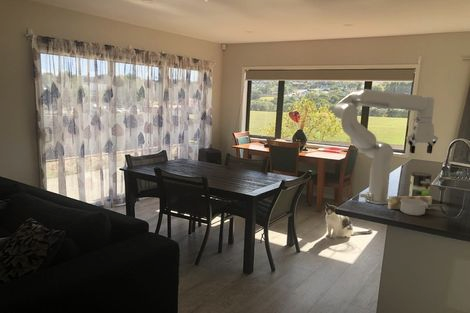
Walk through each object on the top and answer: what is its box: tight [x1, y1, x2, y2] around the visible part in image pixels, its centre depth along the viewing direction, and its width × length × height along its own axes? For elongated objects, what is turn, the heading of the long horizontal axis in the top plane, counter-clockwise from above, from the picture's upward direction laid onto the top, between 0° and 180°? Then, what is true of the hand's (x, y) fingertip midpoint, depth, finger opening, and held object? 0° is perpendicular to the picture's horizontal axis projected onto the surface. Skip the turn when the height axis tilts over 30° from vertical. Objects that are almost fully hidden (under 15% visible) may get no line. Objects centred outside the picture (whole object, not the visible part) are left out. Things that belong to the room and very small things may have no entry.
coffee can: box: [408, 171, 433, 196], centre depth 204 cm, size 10×10×14 cm
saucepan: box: [399, 199, 448, 216], centre depth 175 cm, size 12×20×6 cm, turn 72°
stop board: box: [387, 195, 433, 210], centre depth 184 cm, size 22×2×6 cm, turn 97°
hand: (420, 153), depth 195 cm, fingers open, 9 cm apart
